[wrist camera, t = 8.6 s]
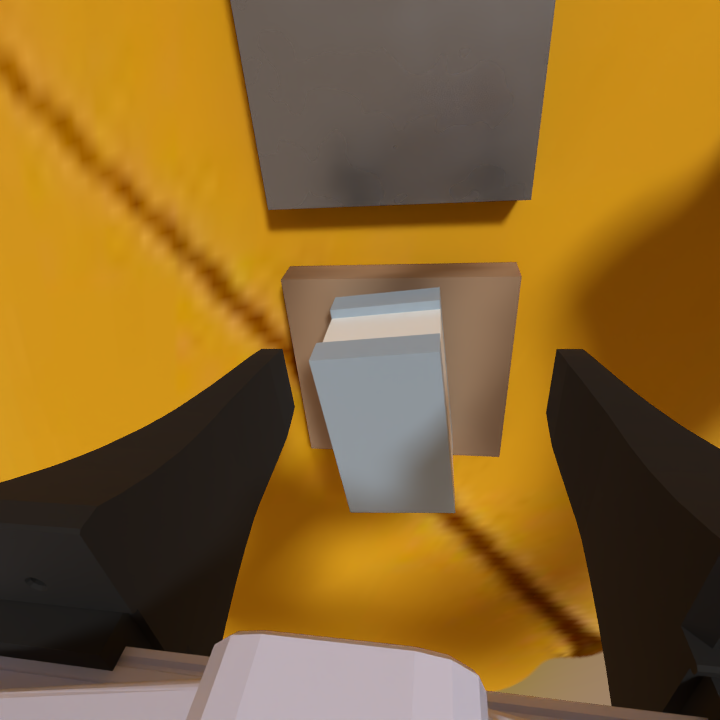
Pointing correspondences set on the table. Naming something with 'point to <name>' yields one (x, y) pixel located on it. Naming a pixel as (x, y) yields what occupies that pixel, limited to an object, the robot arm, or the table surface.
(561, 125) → the table surface
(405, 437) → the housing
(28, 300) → the table surface
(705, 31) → the table surface
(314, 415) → the stand
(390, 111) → the stand
